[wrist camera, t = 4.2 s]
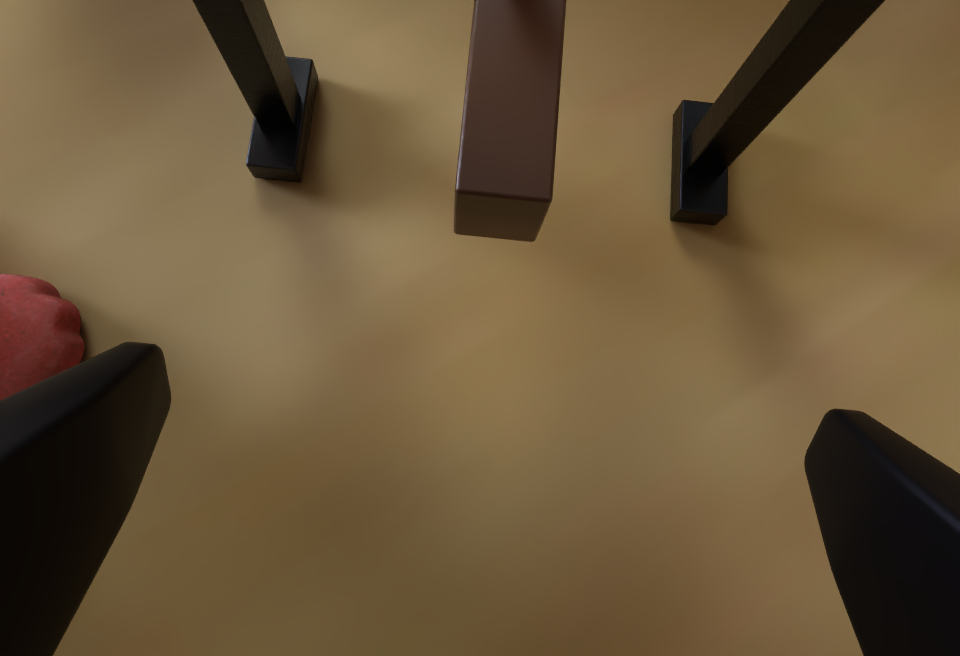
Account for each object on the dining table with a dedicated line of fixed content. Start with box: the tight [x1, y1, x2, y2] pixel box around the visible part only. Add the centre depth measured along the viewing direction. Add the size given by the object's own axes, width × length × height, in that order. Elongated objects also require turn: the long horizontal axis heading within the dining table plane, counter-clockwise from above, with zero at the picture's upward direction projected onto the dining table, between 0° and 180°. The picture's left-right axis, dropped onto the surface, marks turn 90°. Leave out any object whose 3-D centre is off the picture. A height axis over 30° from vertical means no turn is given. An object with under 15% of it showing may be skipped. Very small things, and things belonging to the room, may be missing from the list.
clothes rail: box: [193, 0, 885, 225], centre depth 16 cm, size 4×16×14 cm, turn 85°
